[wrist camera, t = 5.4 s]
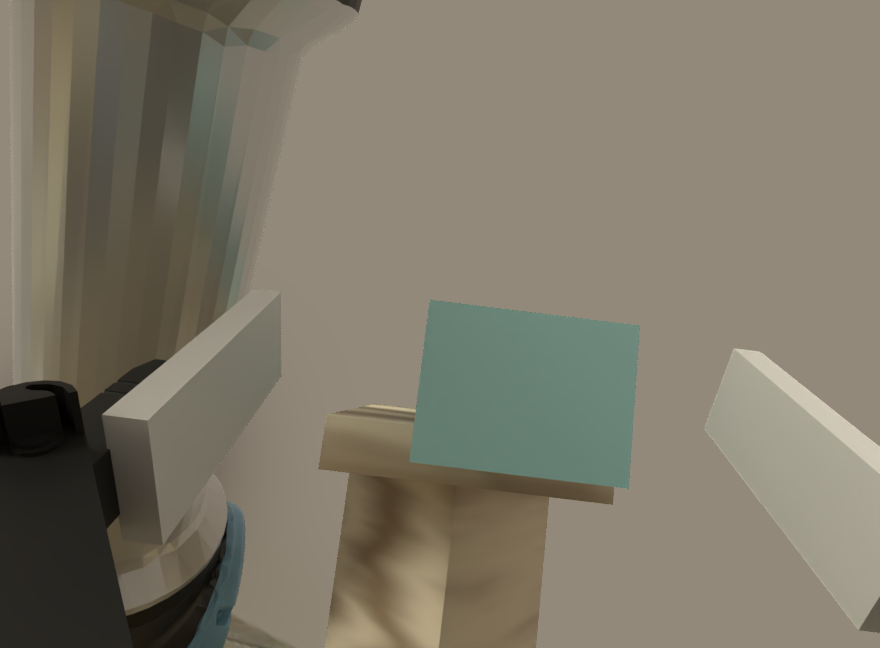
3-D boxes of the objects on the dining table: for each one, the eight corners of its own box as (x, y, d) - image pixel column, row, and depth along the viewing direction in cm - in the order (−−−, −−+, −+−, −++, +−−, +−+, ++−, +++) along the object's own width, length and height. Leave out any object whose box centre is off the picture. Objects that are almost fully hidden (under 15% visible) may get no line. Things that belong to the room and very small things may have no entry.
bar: (628, 488, 9) (639, 325, 10) (409, 462, 9) (429, 300, 10) (480, 417, 35) (485, 374, 35) (423, 410, 35) (428, 367, 35)
